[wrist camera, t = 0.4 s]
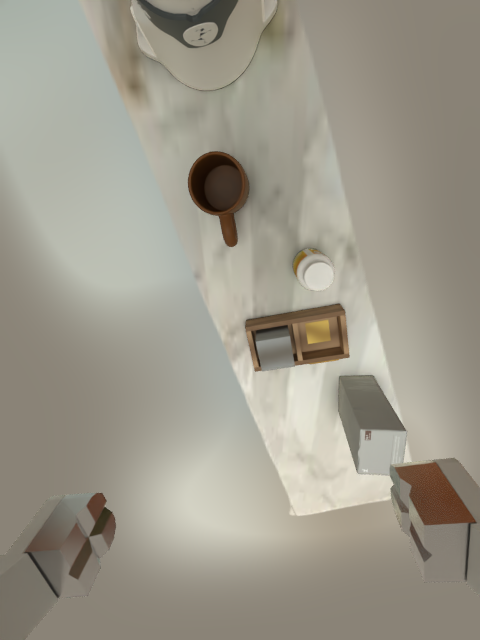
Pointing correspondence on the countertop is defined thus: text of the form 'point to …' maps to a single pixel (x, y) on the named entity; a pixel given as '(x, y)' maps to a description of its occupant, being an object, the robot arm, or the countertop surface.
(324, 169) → the countertop surface
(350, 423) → the skincare box
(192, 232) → the countertop surface
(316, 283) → the supplement bottle
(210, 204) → the mug
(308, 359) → the caddy
